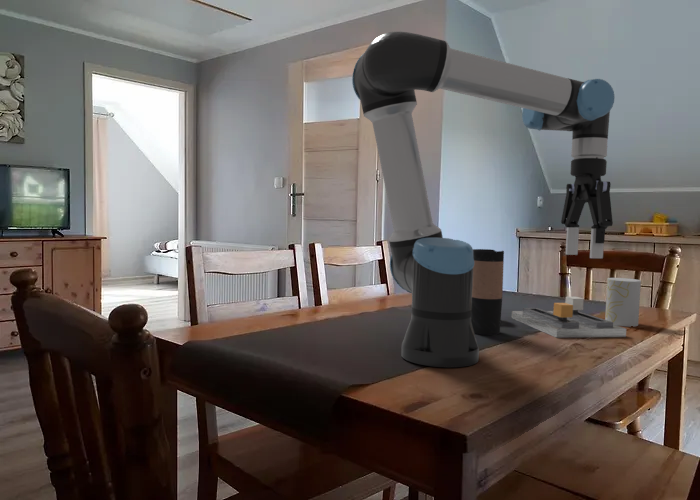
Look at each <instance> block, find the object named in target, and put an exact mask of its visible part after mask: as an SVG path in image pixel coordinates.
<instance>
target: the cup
mask: <svg viewBox="0 0 700 500" xmlns="http://www.w3.org/2000/svg"><path fill="white" fill-rule="evenodd" d="M606 282H607V283H606V284H607V285H606V301H605V317H604V320H607V321H611V322H613V325H617V326H620V327H631V326H633V327H637V326H639V321H640V319H639V317H640V305H641V304H640V302H641V289H642V288H641V283H642V280H641V279H635V278H627V277H626V278H625V277H607V281H606Z"/></svg>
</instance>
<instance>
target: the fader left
mask: <svg viewBox="0 0 700 500" xmlns="http://www.w3.org/2000/svg"><path fill="white" fill-rule="evenodd" d="M553 308H554V311H553V310H552V311H553V315H555V316H558V320H561V321H564V322H567V317H572V315H573V305H571V304H567V303H565V302H553Z"/></svg>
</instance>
